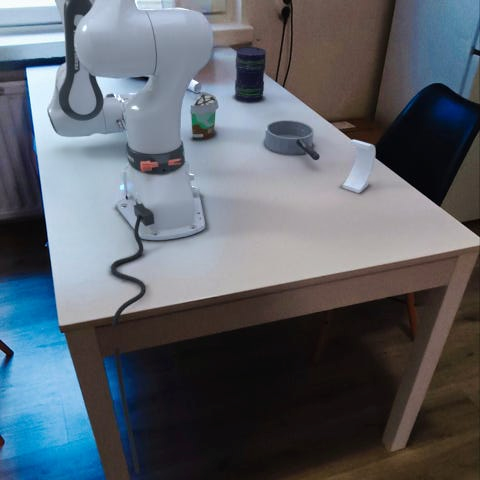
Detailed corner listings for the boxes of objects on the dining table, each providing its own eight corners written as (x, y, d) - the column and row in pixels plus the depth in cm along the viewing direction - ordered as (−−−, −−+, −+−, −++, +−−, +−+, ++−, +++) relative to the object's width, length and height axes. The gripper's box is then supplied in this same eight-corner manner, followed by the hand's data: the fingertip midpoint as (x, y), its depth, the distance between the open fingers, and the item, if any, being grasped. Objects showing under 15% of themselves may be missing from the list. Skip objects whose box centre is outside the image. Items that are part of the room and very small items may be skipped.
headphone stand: (341, 187, 121) (350, 140, 113) (352, 178, 124) (361, 132, 117) (359, 193, 119) (369, 146, 111) (369, 184, 122) (379, 137, 115)
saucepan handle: (320, 161, 125) (321, 154, 124) (314, 162, 125) (315, 155, 124) (300, 142, 134) (301, 136, 133) (294, 143, 133) (295, 137, 132)
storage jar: (247, 104, 162) (250, 46, 151) (228, 96, 168) (229, 39, 157) (269, 98, 168) (273, 41, 156) (250, 90, 173) (252, 35, 162)
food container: (212, 144, 138) (212, 108, 131) (191, 141, 138) (190, 106, 132) (222, 127, 147) (222, 93, 141) (202, 125, 148) (202, 91, 141)
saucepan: (319, 151, 136) (322, 135, 133) (276, 157, 132) (277, 141, 130) (299, 133, 146) (301, 118, 143) (258, 138, 142) (259, 122, 139)
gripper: (119, 118, 121) (173, 113, 125) (106, 91, 135) (156, 87, 139) (122, 143, 125) (175, 137, 129) (109, 113, 140) (157, 109, 143)
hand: (165, 110), depth 134 cm, fingers closed
